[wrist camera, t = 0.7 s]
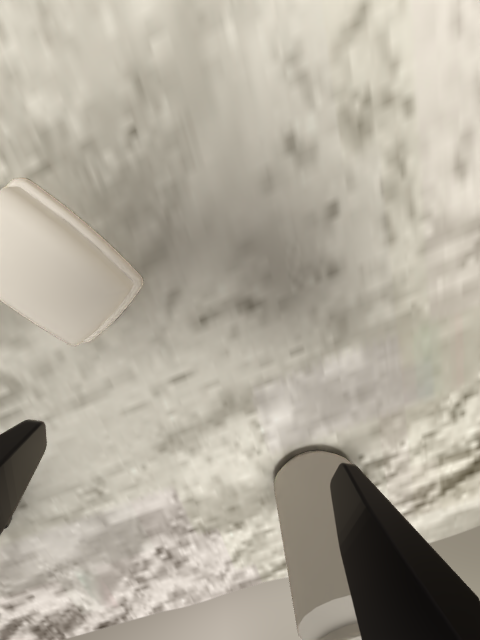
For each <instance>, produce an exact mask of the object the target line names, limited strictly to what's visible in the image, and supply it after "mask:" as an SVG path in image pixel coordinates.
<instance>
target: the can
mask: <svg viewBox="0 0 480 640" xmlns="http://www.w3.org/2000/svg"><path fill="white" fill-rule="evenodd" d="M341 463H350V462H349V461H348V460H347V459H346V458H344V457H342V456H339V455H337V454H334V453H330V452H327V451H319V450H316V451H307V452H304V453H301V454H298V455H296V456H295V457H293V458H292V459H290V460H289V461H288V462H287V463H286V464H285V465H284V466H283V467H282V468H281V470H280V471H279V472H278V473H277V475H276V478H275V480H274V491H275V497H276V503H277V510H278V516H279V522H280V528H281V534H282V540H283V546H284V552H285V558H286V564H287V570H288V576H289V582H290V588H291V594H292V600H293V606H294V612H295V618H296V625H297V631H298V635H299V636H300V638H301V639H302V640H362V639H361V635H360V630H359V626H358V622H357V618H356V614H355V610H354V606H353V602H352V598H351V594H350V590H349V586H348V582H347V578H346V574H345V570H344V565H343V561H342V557H341V553H340V548H339V543H338V537H337V531H336V524H335V518H334V511H333V505H332V498H331V492H330V482H331V479H332V477H333V475H334V473H335V471H336V470H337V468H338V466H339V464H341ZM350 464H351V463H350Z"/></svg>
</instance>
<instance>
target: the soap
mask: <svg viewBox="0 0 480 640" xmlns="http://www.w3.org/2000/svg"><path fill="white" fill-rule="evenodd" d="M64 219H65V220H64ZM142 286H143V278H142V277H141V275H140V274H139V273H138V272H137V271H136V270H135V269H134V268H133V267H132V266H131V265H130V264H129V263H128V262H127V261H126V260H125V259H124V258H123V257H122V256H121V255H120V254H119V253H118V252H117V251H116V250H115V249H114V248H113V247H112V246H111V245H110V244H109V243H108V242H107V241H105V240H104V239H103V238H102V237H101V236H100V235H99V234H98V233H97V232H96V231H94V230H93V229H92V228H91V227H90V226H89V225H87V224H86V223H85V222H84V221H83V220H82V219H80V218H79V217H78V216H77V215H75V214H74V213H73V212H72V211H71V210H69V209H68V208H67V207H66V206H64V205H63V204H62V203H60V202H59V201H58V200H56V199H55V198H54V197H53V196H51V195H50V194H49V193H47V192H46V191H44V190H43V189H42V188H40V187H39V186H38V185H36V184H35V183H33V182H32V181H30V180H29V179H26V178H16V179H13V180H11V181H10V182H9V183H8V184H7V185H6V186H5V187H4V188H2V189H1V190H0V300H1V301H2V302H3V303H5V304H6V305H8V306H9V307H10V308H12V309H13V310H15V311H16V312H18V313H19V314H21V315H22V316H24V317H25V318H27V319H28V320H30V321H31V322H33V323H34V324H36V325H37V326H39V327H41V328H42V329H44V330H45V331H47V332H49V333H50V334H52V335H54V336H55V337H57V338H59V339H60V340H62V341H64V342H65V343H67V344H69V345H71V346H77V345H79V344H80V343H81V342H83V343H86V342H90V341H91V340H93V339H94V338H95V337H97V336H98V335H99V334H100V333H102V332H103V331H104V330H105V329H106V328H108V327H109V326H110V325H111V324H112V323H113V322H114V321H115V320H116V319H117V318H118V317H119V316H120V315H121V314H122V312H123V311H124V310H125V309H126V308H127V307H128V305H129V304H130V303H131V301H132V300H133V299H134V298H135V296H136V295H137V293H138V292H139V290H140V289H141V287H142Z"/></svg>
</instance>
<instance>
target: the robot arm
mask: <svg viewBox="0 0 480 640" xmlns="http://www.w3.org/2000/svg"><path fill="white" fill-rule="evenodd" d="M46 446H47V439H46V426H45V423H44V422H42V421H36V420H25V421H23V422H21V423H19V424H18V425H16V426H14V427H13V428H11V429H9V430H7V431H6V432H4V433H2V434H1V435H0V534H1V533H2V531H3V530H4V529H5V528H7V527H8V526H9V524H10V522H11V520H10V518H11V517H12V515H13V513H14V511H15V509H16V507H17V506H18V504H19V502H20V500H21V498H22V496H23V494H24V492H25V490H26V488H27V486H28V484H29V482H30V480H31V478H32V476H33V474H34V472H35V470H36V468H37V466H38V464H39V462H40V460H41V458H42V456H43V454H44V452H45V450H46ZM330 492H331V498H332V505H333V511H334V518H335V524H336V531H337V537H338V543H339V548H340V553H341V557H342V561H343V565H344V570H345V574H346V578H347V582H348V586H349V590H350V594H351V598H352V602H353V606H354V610H355V614H356V618H357V622H358V626H359V630H360V635H361V639H362V640H480V601H479V598H478V597H477V596H476V595H475V593H474V592H473V591H472V590H471V589H470V588H469V587H468V586H467V585H466V584H465V583H464V582H463V580H462V579H461V578H460V577H459V576H458V575H457V574H456V573H455V572H454V571H453V570H452V569H451V567H450V566H449V565H448V564H447V563H446V562H445V561H444V560H443V559H442V558H441V557H440V556H439V554H438V553H437V552H436V551H435V550H434V549H433V548H432V547H431V546H430V545H429V544H428V543H427V541H426V540H425V539H424V538H423V537H422V536H421V535H420V534H419V533H418V532H417V531H416V530H415V529H414V527H413V526H412V525H411V524H410V523H409V522H408V521H407V520H406V519H405V518H404V517H403V516H402V514H401V513H400V512H399V511H398V510H397V509H396V508H395V507H394V506H393V505H392V504H391V503H390V501H389V500H388V499H387V498H386V497H385V496H384V495H383V494H382V493H381V492H380V491H379V490H378V489H377V487H376V486H375V485H374V484H373V483H372V482H371V481H370V480H369V479H368V478H367V477H366V476H365V474H364V473H363V472H362V471H361V470H360V469H359V468H358V467H357V466H356V465H354V464H350V463H341V464H339V466H338V468H337V470H336V471H335V473H334V475H333V477H332V479H331V482H330Z"/></svg>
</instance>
